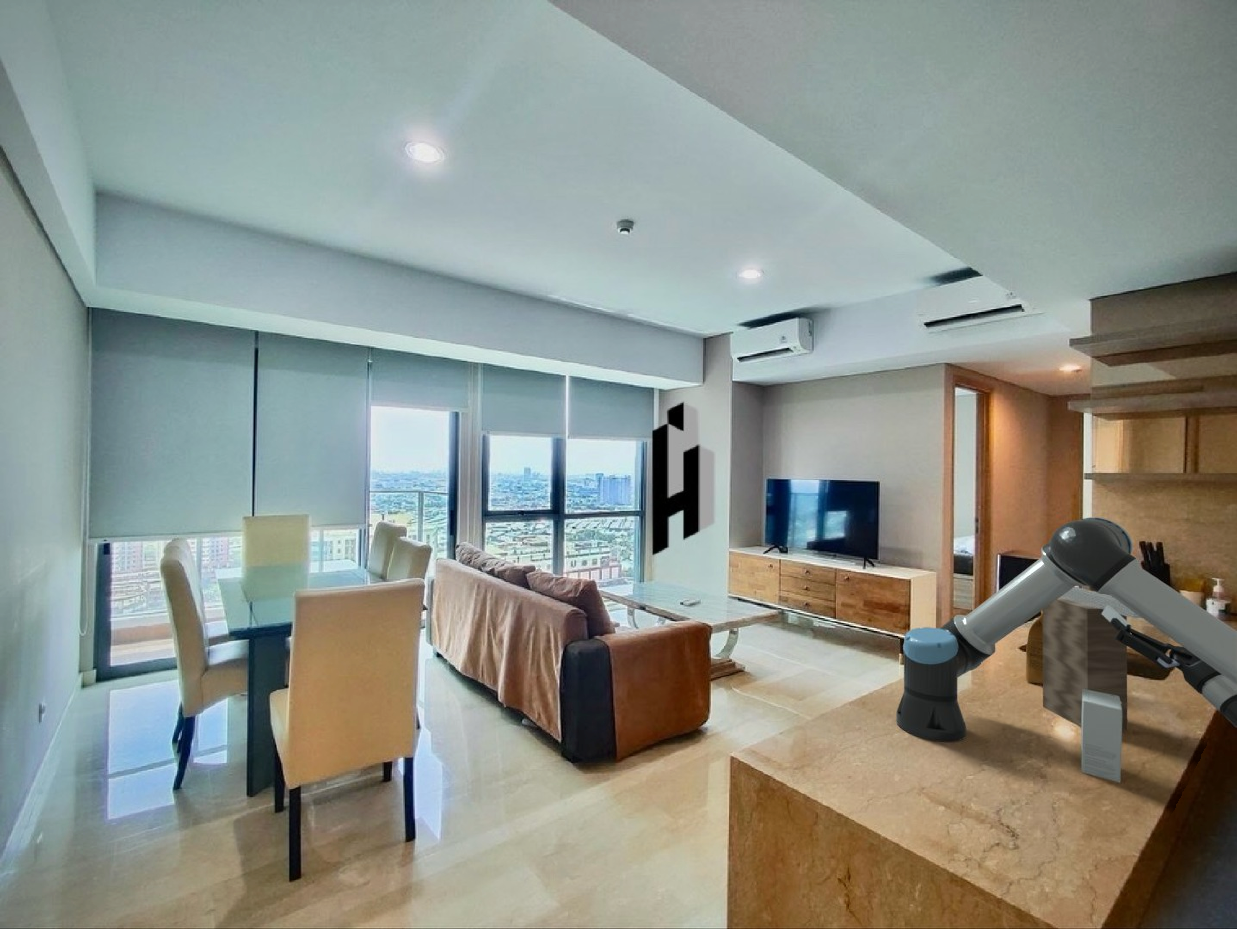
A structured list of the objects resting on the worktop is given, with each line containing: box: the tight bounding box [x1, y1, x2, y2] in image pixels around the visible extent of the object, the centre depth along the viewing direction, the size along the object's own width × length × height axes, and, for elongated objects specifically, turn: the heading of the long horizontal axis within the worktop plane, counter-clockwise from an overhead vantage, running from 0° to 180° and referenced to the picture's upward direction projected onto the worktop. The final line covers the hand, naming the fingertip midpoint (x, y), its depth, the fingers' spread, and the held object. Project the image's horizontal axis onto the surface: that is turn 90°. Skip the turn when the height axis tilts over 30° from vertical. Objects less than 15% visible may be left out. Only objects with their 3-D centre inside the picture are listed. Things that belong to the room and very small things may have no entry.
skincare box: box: [1080, 689, 1123, 784], centre depth 119 cm, size 8×7×16 cm
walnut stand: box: [1042, 598, 1128, 731], centre depth 145 cm, size 14×10×30 cm
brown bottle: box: [1025, 610, 1043, 685], centre depth 170 cm, size 10×12×22 cm
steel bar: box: [1059, 586, 1143, 619], centre depth 140 cm, size 23×4×3 cm, turn 2°
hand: (1133, 609), depth 131 cm, fingers open, 13 cm apart
